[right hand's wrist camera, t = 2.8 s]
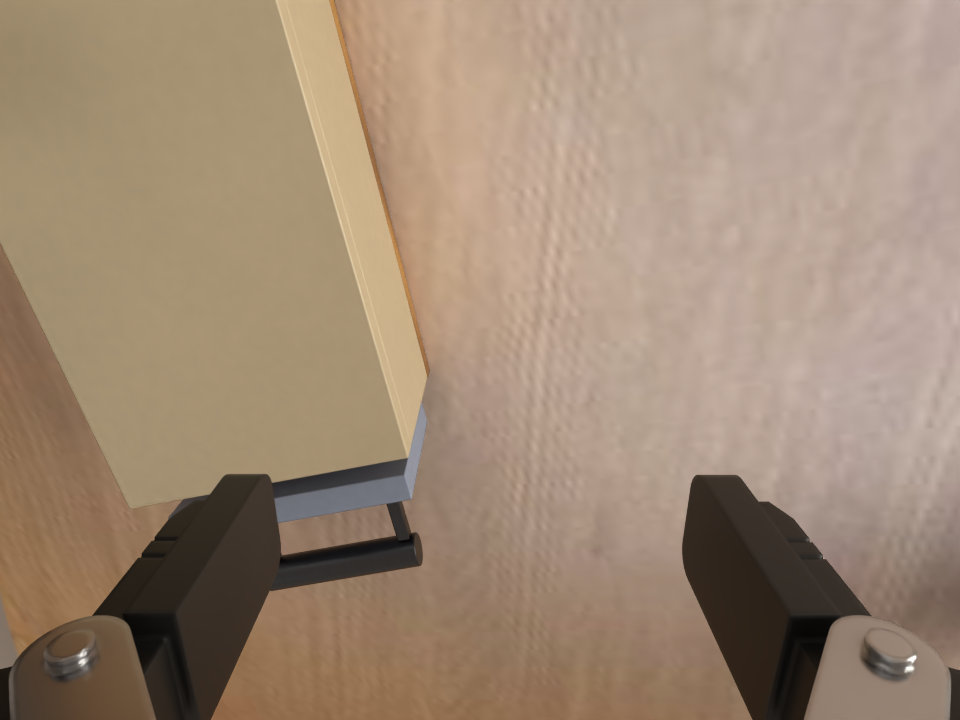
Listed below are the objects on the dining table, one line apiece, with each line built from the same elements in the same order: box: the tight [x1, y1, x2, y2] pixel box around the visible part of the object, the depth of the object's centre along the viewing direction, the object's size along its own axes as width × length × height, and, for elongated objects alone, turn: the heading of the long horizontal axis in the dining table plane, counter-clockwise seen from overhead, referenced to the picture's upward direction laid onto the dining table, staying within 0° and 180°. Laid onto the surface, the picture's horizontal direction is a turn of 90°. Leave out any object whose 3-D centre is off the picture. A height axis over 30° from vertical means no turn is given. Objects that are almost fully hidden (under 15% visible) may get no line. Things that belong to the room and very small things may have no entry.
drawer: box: [169, 402, 427, 591], centre depth 26 cm, size 25×10×7 cm, turn 12°
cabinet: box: [0, 0, 430, 509], centre depth 24 cm, size 21×11×9 cm, turn 12°
